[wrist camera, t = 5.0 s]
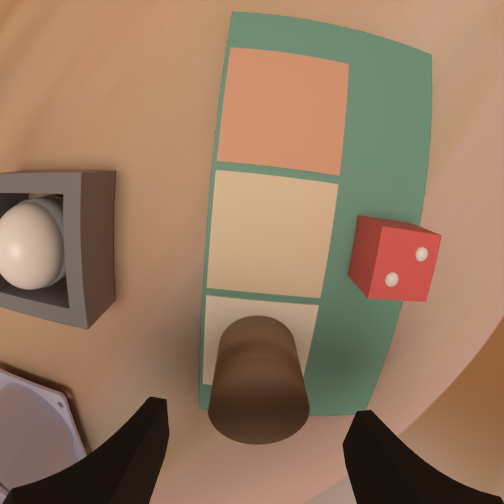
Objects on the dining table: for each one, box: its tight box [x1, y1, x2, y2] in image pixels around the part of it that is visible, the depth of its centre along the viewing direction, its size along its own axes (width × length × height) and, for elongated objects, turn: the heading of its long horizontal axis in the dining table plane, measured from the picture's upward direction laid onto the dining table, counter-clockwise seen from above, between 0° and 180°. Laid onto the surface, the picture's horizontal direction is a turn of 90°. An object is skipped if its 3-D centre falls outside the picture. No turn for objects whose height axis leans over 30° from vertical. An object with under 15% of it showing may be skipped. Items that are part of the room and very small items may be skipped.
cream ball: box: [0, 195, 66, 290], centre depth 12 cm, size 4×4×4 cm
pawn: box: [208, 315, 310, 444], centre depth 14 cm, size 4×4×5 cm
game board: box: [199, 11, 441, 416], centre depth 13 cm, size 22×11×4 cm, turn 174°
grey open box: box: [0, 170, 116, 329], centre depth 13 cm, size 7×7×4 cm
